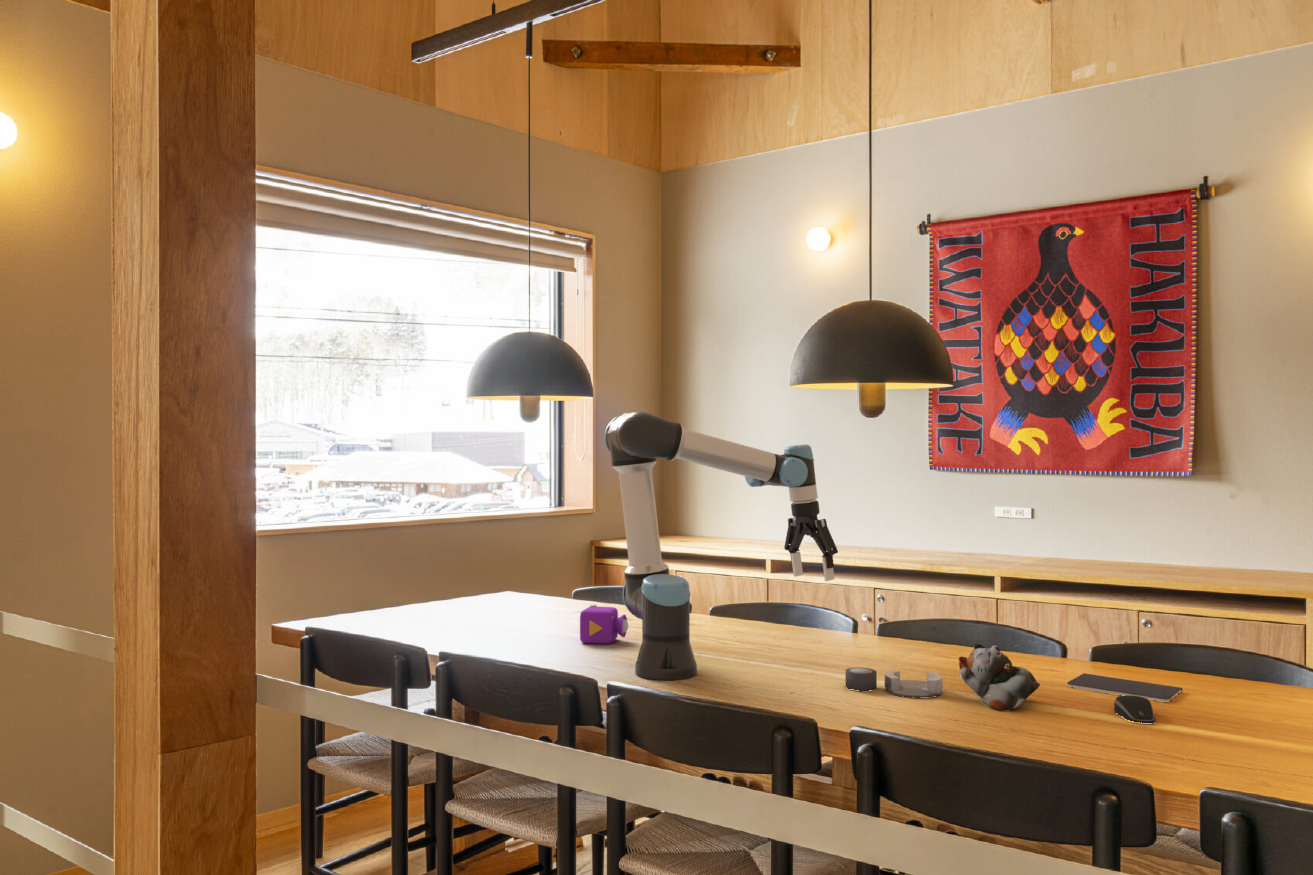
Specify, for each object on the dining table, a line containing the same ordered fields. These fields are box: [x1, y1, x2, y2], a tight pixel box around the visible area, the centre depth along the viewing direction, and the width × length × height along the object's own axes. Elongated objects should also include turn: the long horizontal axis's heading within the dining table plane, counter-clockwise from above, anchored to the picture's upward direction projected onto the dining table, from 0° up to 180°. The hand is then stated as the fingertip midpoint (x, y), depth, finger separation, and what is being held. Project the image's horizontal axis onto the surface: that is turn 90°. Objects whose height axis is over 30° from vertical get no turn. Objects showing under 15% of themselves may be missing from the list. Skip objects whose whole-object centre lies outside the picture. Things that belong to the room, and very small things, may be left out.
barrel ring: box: [884, 669, 943, 699], centre depth 215 cm, size 13×13×4 cm
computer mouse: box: [1113, 695, 1156, 723], centre depth 194 cm, size 7×12×4 cm, turn 168°
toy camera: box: [579, 604, 629, 645], centre depth 271 cm, size 11×14×10 cm
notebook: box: [1066, 672, 1183, 702], centre depth 215 cm, size 13×2×21 cm
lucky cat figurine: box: [958, 643, 1041, 711], centre depth 205 cm, size 15×12×14 cm
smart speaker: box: [844, 667, 878, 691], centre depth 218 cm, size 7×7×4 cm
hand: (813, 577), depth 259 cm, fingers open, 13 cm apart
